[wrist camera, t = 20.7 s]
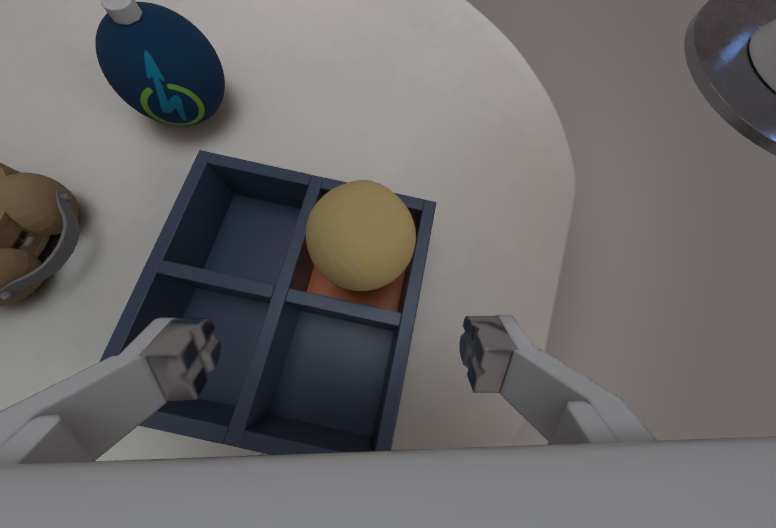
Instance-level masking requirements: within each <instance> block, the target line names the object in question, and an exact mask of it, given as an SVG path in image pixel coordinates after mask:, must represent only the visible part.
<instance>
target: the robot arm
mask: <svg viewBox="0 0 776 528" xmlns="http://www.w3.org/2000/svg"><path fill="white" fill-rule="evenodd" d="M749 51H750V56H751V59H752V62H753V64H754V66H755V68H756V70H757V72H758V73H759V75H760V76H761V77H762V79H763V80H764V81H765V82H766V83H767V84H768V85H769V86H770V87H771V88H772V89H773V90H774V91H775V92H776V19H774V20H772V21H771V22H769V23H767V24H766V25H764V26H762V27H760V28H759V29H757V30H756V31H755V32H754V34H753V35H752V37H751V39H750V44H749ZM463 327H464V330H465V332H464V333H463V334H462V335H461V338H460V356H461V359H462V362H463V365H465V366H466V367H467V368H468V373H467V377H468V379H469V382H470V385H471V387H472V390H473V393H500V395H501V396H502V397H503V398H504V399H505V400H507V401H508V402H509V403H510V404H511V405H512V406H513V407H514V408H515V409H516V410H517V411H518V412H519V413H520V414H521V415H522V416H523V417H524V418H525V419H526V420H527V421H528V422H529V423H530V424H531V425H532V426H533V427H534V428H535V429H536V430H537V431H538V432H539V433H541V435H542V436H544V437H545V438H546V439H547V440H548V441H549V442H548V444H547V445H532V446H531V445H529V446H501V447H473V448H447V449H421V450H395V451H369V452H342V453H314V454H287V455H259V456H232V457H205V458H178V459H151V460H124V461H97V462H96V461H95V460H96V459H98V458H99V457H100V456H101V455H103V454H104V453H105V452H106V451H108V450H109V449H110V448H111V447H112V446H114V445H115V444H116V443H117V442H119V441H120V440H121V439H122V438H124V437H125V436H126V435H127V434H128V433H130V432H131V431H132V430H133V429H135V428H136V427H137V426H138V425H140V424H141V423H142V422H143V421H145V420H146V419H147V418H148V417H149V416H151V415H152V414H153V413H154V412H156V411H157V410H158V409H159V408H161V407H162V406H163V405H164V404H165V403H166V401H177V400H197V399H198V397H199V395H200V394H201V392H202V390H203V389H204V387H205V385H206V383H207V382H208V379H207V374H208V373H210V372H211V371H213V370H214V369H215V368H216V366H217V364H218V362H219V360H220V355H221V343H220V340H219V338H217V337H216V336H215V335H214V334H212V333H213V332H214V330H215V329H216V327H215V325H214V322H213V320H212V319H210V318H158V319H155V320H153V321H152V322H151V323H150V324H149V325H148V326H147V327H146V328H145V329H144V330H143V331H142V332H141V333H140V334H139V335H138V336H137V337H136V338H135V339H134V340H133V341H132V342H131V343H130V344H129V345H128V346H127V347H126V348H125V349H124V350H123V351H122V352H121V353H120V354H119V355H118V356H111V357H109V358H107V359H105V360H103V361H101V362H99V363H97V364H95V365H93V366H91V367H89V368H87V369H85V370H83V371H81V372H79V373H77V374H75V375H73V376H71V377H69V378H67V379H65V380H63V381H61V382H59V383H57V384H55V385H53V386H51V387H49V388H46V389H44V390H42V391H40V392H38V393H36V394H34V395H32V396H30V397H28V398H26V399H24V400H22V401H20V402H18V403H16V404H14V405H12V406H10V407H8V408H6V409H4V410H2V411H0V528H776V436H770V437H769V436H768V437H744V438H720V439H719V438H717V439H693V440H665V441H657V440H656V438H655V437H654V436H653V435H652V434H651V433H650V431H649V430H648V429H647V428H646V427H645V425H644V424H643V423H642V422H641V421H640V420H639V418H638V417H637V416H636V415H635V414H634V413H633V411H632V410H631V409H630V408H629V407H628V405H627V404H626V403H625V402H624V401H623V400H622V399H621V398H619V397H618V396H616V395H615V394H613V393H611V392H610V391H608V390H607V389H605V388H603V387H601V386H600V385H598V384H597V383H595V382H593V381H592V380H590V379H588V378H587V377H585V376H583V375H582V374H580V373H578V372H577V371H575V370H574V369H572V368H570V367H568V366H567V365H565V364H564V363H562V362H560V361H559V360H557V359H555V358H554V357H552V356H550V355H548V354H547V353H546V352H544V351H542V350H541V349H535V348H534V346H533V345H532V343H531V342H530V340H529V339H528V337H527V336H526V334H525V333H524V331H523V330H522V329H521V327H520V326H519V324H518V323H517V321H516V320H515V318H514V317H513V316H511V315H496V316H466V317H465V319H464V323H463Z"/></svg>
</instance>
